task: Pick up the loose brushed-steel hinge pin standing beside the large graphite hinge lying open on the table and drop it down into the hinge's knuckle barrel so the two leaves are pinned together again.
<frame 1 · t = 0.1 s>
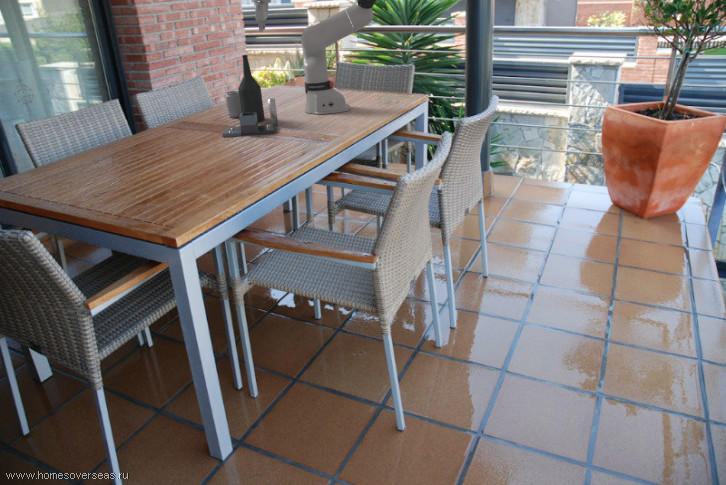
hand: (262, 30, 265), 39 cm above the table, tool pointing down, fingers open, 8 cm apart
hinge: (250, 132, 251), on the table
bottle: (254, 121, 270), on the table
can: (236, 116, 281), on the table
pin: (274, 125, 259), on the table
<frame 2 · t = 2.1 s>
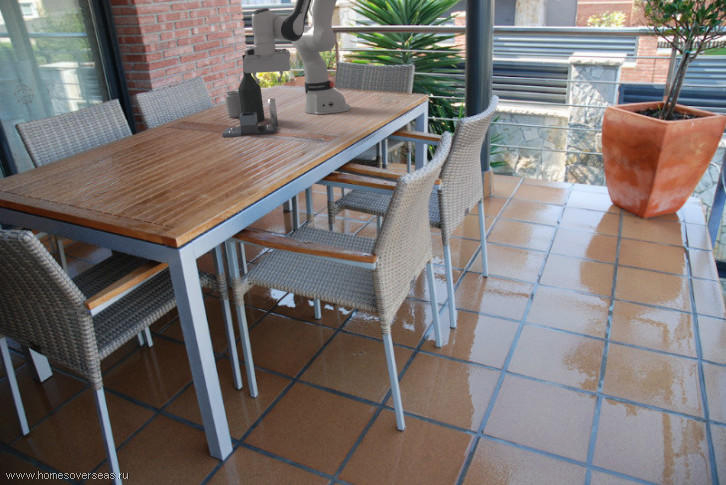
hand: (268, 82, 250), 19 cm above the table, tool pointing down, fingers open, 8 cm apart
nothing on the table moved.
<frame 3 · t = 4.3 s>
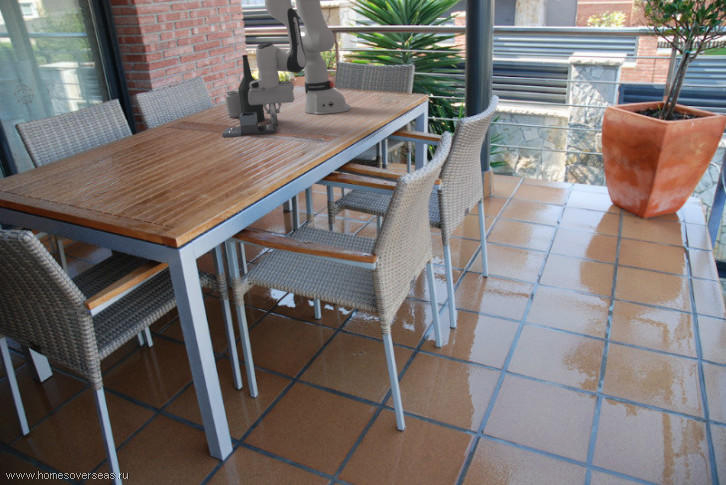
hand: (273, 113, 257), 6 cm above the table, tool pointing down, fingers closed on pin, 3 cm apart
pin: (274, 125, 259), on the table, touching gripper
everything else where it was.
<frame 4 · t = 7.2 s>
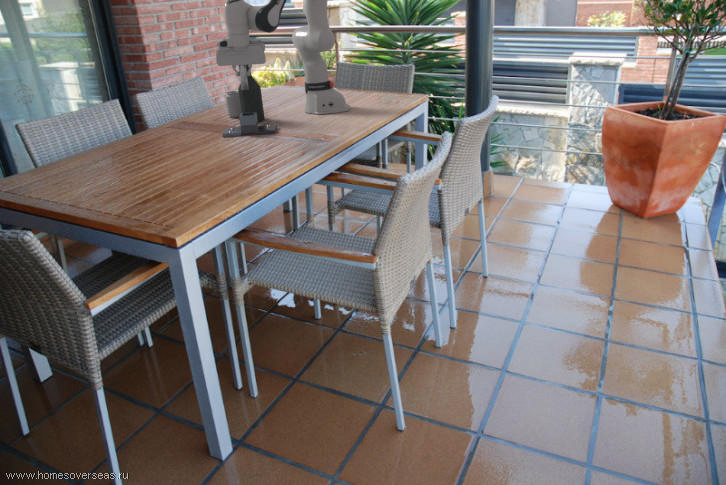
hand: (243, 75, 240), 24 cm above the table, tool pointing down, fingers closed on pin, 3 cm apart
pin: (245, 89, 243), point 19 cm above the table, touching gripper
everything else where it was.
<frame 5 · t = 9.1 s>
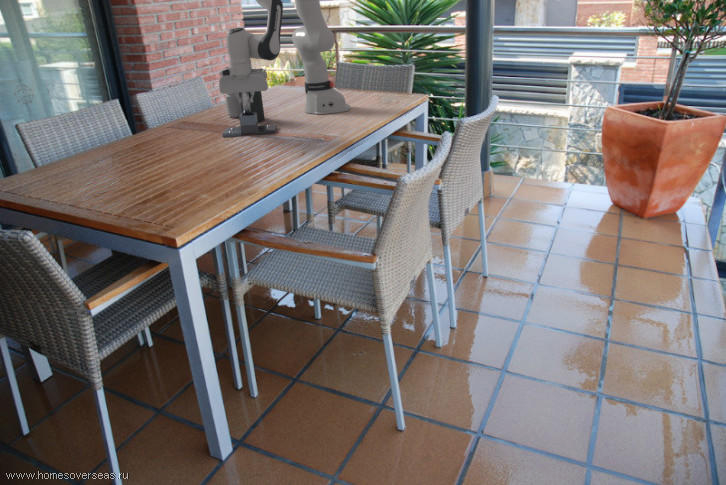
hand: (246, 102, 245), 13 cm above the table, tool pointing down, fingers closed on pin, 3 cm apart
pin: (247, 115, 247), point 7 cm above the table, touching gripper
everything else where it was.
when the fingers open (10 cm above the table, at t = 10.3 s): pin drops 4 cm, resting in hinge.
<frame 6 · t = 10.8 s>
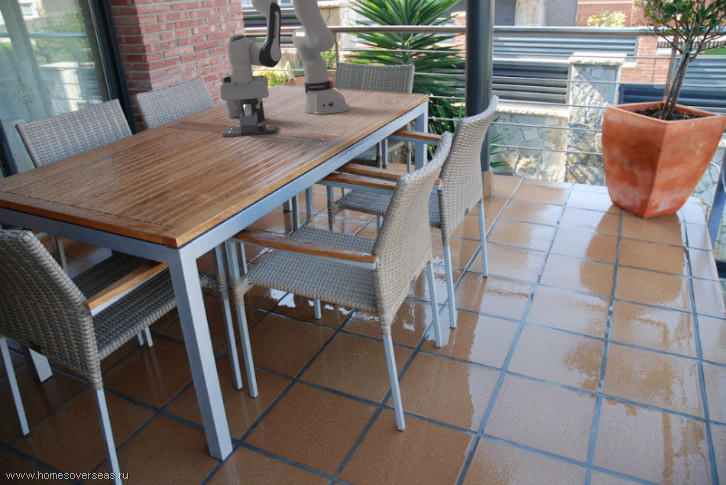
hand: (247, 109, 246), 10 cm above the table, tool pointing down, fingers open, 8 cm apart
pin: (250, 132, 251), resting in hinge
everything else where it was.
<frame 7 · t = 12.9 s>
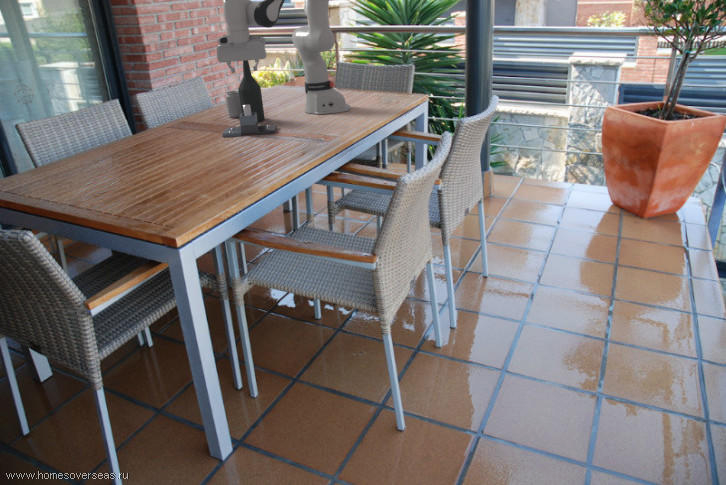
hand: (244, 71, 241), 26 cm above the table, tool pointing down, fingers open, 8 cm apart
nothing on the table moved.
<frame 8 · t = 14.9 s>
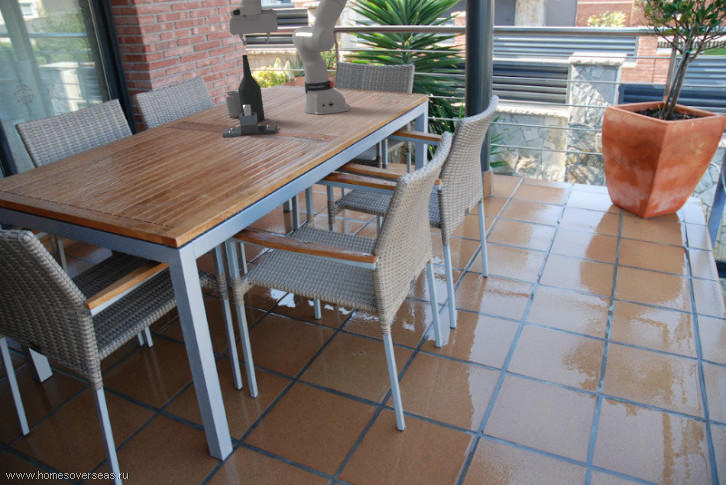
hand: (256, 44, 246), 35 cm above the table, tool pointing down, fingers open, 8 cm apart
nothing on the table moved.
at the end: pin 0.0 cm off-centre on the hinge, point 0.0 cm above the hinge's base; pin tilted 0°; the gripper is holding nothing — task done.
